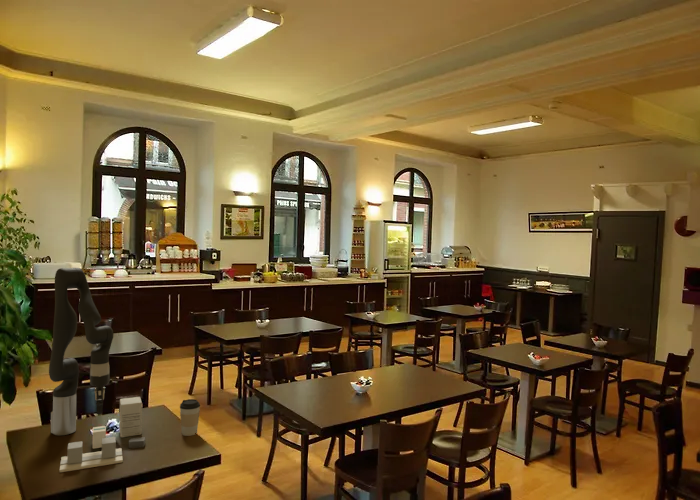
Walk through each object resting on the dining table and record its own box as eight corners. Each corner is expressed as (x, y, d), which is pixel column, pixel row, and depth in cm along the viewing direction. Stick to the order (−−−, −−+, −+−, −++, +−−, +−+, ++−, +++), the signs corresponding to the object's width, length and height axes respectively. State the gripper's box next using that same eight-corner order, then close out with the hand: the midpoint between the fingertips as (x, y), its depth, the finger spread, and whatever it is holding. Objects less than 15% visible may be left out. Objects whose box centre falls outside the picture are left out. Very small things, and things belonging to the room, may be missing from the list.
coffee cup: (201, 429, 239) (202, 397, 238) (196, 436, 230) (197, 404, 229) (182, 428, 238) (183, 397, 238) (176, 436, 229) (177, 403, 229)
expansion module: (92, 448, 215) (92, 432, 214) (92, 443, 220) (92, 427, 220) (105, 446, 217) (105, 430, 217) (105, 441, 222) (105, 425, 222)
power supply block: (128, 448, 216) (128, 441, 216) (130, 444, 220) (130, 437, 220) (143, 447, 217) (143, 440, 217) (145, 443, 221) (145, 437, 221)
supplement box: (119, 430, 234) (119, 398, 234) (140, 427, 238) (140, 396, 238) (120, 437, 226) (120, 404, 226) (141, 434, 230) (142, 402, 230)
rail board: (59, 472, 193) (59, 453, 193) (61, 459, 204) (61, 441, 204) (122, 462, 203) (122, 444, 203) (121, 450, 214) (121, 433, 213)
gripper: (90, 369, 222) (90, 406, 223) (89, 378, 209) (89, 417, 210) (109, 368, 225) (108, 404, 226) (109, 376, 213) (109, 414, 213)
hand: (99, 410), depth 218 cm, fingers open, 8 cm apart
